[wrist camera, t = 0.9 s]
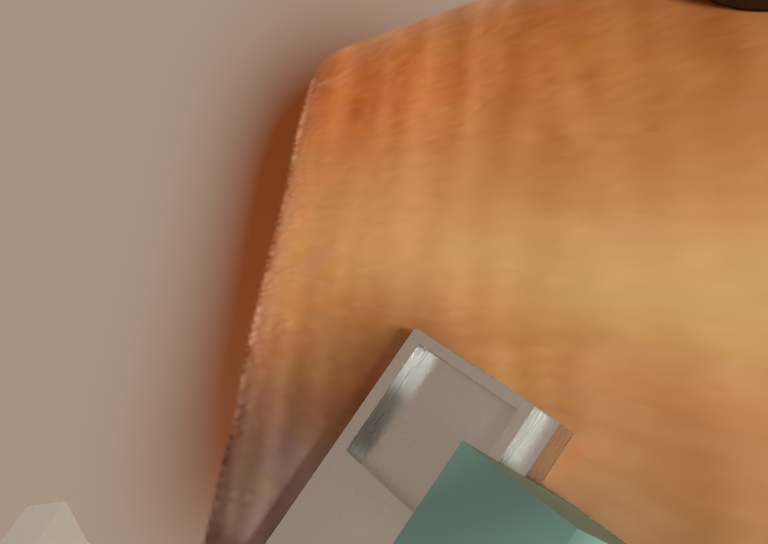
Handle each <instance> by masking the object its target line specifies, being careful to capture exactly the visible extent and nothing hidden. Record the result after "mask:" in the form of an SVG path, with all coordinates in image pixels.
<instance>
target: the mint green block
mask: <svg viewBox="0 0 768 544" xmlns="http://www.w3.org/2000/svg"><path fill="white" fill-rule="evenodd" d="M393 544H625V543H623V542H622V541H620V540H619V539H618V538H616V537H615V536H614V535H612V534H611V533H610V532H608V531H607V530H606V529H604V528H603V527H602V526H600V525H599V524H598V523H596V522H595V521H594V520H592V519H591V518H589V517H588V516H587V515H585V514H584V513H583V512H581V511H580V510H579V509H577V508H576V507H575V506H573V505H572V504H570V503H569V502H567V501H565V500H563V499H562V498H560V497H558V496H557V495H555V494H553V493H551V492H550V491H548V490H546V489H545V488H543V487H541V486H540V485H538V484H536V483H534V482H533V481H531V480H529V479H528V478H526V477H524V476H522V475H521V474H519V473H517V472H516V471H514V470H512V469H511V468H509V467H507V466H505V465H504V464H502V463H500V462H499V461H497V460H495V459H493V458H492V457H490V456H488V455H487V454H485V453H483V452H482V451H480V450H478V449H476V448H475V447H473V446H471V445H470V444H468V443H466V442H464V441H463V440H462V442H461V443H460V444H459V446H458V447H457V449H456V450H455V452H454V453H453V455H452V456H451V458H450V459H449V461H448V462H447V464H446V465H445V467H444V468H443V470H442V471H441V473H440V474H439V476H438V477H437V479H436V480H435V482H434V483H433V485H432V486H431V488H430V489H429V491H428V492H427V494H426V495H425V496H424V498H423V499H422V501H421V502H420V504H419V505H418V507H417V508H416V510H415V511H414V513H413V514H412V516H411V517H410V519H409V520H408V522H407V523H406V525H405V526H404V528H403V529H402V531H401V532H400V534H399V535H398V537H397V538H396V540H395V541H394V543H393Z"/></svg>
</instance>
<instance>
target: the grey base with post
mask: <svg viewBox="0 0 768 544" xmlns="http://www.w3.org/2000/svg"><path fill="white" fill-rule="evenodd" d="M572 435H573V434H572V433H571V432H570V431H569V430H568V429H566V428H565V427H564V426H563V425H562V424H561V423H559V422H558V421H556V420H555V419H553V418H552V417H550V416H548V415H547V414H545V413H544V412H542V411H541V410H540V409H539V408H538V407H536V406H535V405H534V404H532V403H531V402H529V401H528V400H526V399H524V398H523V397H521V396H520V395H518V394H517V393H515V392H514V391H512V390H511V389H509V388H508V387H506V386H504V385H503V384H501V383H500V382H498V381H497V380H495V379H494V378H492V377H491V376H489V375H488V374H486V373H484V372H483V371H481V370H480V369H478V368H477V367H475V366H474V365H472V364H471V363H469V362H468V361H466V360H464V359H463V358H461V357H460V356H458V355H457V354H455V353H454V352H452V351H451V350H449V349H448V348H446V347H444V346H443V345H441V344H440V343H438V342H437V341H435V340H434V339H432V338H431V337H429V336H428V335H426V334H424V333H423V332H421V331H420V330H417V329H415V328H414V330H413V331H412V333H411V334H410V335H409V337H408V338H407V340H406V341H405V343H404V344H403V346H402V347H401V348H400V350H399V351H398V353H397V354H396V356H395V357H394V359H393V360H392V361H391V363H390V364H389V366H388V367H387V369H386V370H385V372H384V373H383V374H382V376H381V377H380V379H379V380H378V382H377V383H376V385H375V386H374V387H373V389H372V390H371V392H370V393H369V395H368V396H367V398H366V399H365V400H364V402H363V403H362V405H361V406H360V408H359V409H358V410H357V412H356V413H355V415H354V416H353V418H352V419H351V421H350V422H349V423H348V425H347V426H346V428H345V429H344V431H343V432H342V434H341V435H340V436H339V438H338V439H337V441H336V442H335V444H334V445H333V447H332V448H331V449H330V451H329V452H328V454H327V455H326V457H325V458H324V460H323V461H322V462H321V464H320V465H319V467H318V468H317V470H316V471H315V473H314V474H313V475H312V477H311V478H310V480H309V481H308V483H307V484H306V486H305V487H304V488H303V490H302V491H301V493H300V494H299V496H298V497H297V499H296V500H295V501H294V503H293V504H292V506H291V507H290V509H289V510H288V512H287V513H286V514H285V516H284V517H283V519H282V520H281V522H280V523H279V525H278V526H277V527H276V529H275V530H274V532H273V533H272V535H271V536H270V538H269V539H268V540H267V542H266V543H265V544H393V543H394V541H395V540H396V538H397V537H398V535H399V534H400V532H401V531H402V529H403V528H404V526H405V525H406V523H407V522H408V520H409V519H410V517H411V516H412V514H413V513H414V511H415V510H416V508H417V507H418V505H419V504H420V502H421V501H422V499H423V498H424V496H425V495H426V494H427V492H428V491H429V489H430V488H431V486H432V485H433V483H434V482H435V480H436V479H437V477H438V476H439V474H440V473H441V471H442V470H443V468H444V467H445V465H446V464H447V462H448V461H449V459H450V458H451V456H452V455H453V453H454V452H455V450H456V449H457V447H458V446H459V444H460V443H461V442H462V440H463V441H464V442H466V443H468V444H470V445H471V446H473V447H475V448H476V449H478V450H480V451H482V452H483V453H485V454H487V455H488V456H490V457H492V458H493V459H495V460H497V461H499V462H500V463H502V464H504V465H505V466H507V467H509V468H511V469H512V470H514V471H516V472H517V473H519V474H521V475H522V476H524V477H526V478H528V479H529V480H531V481H533V482H534V483H536V484H538V485H540V484H541V482H542V481H543V479H544V478H545V476H546V475H547V473H548V471H549V470H550V468H551V467H552V465H553V464H554V462H555V461H556V459H557V458H558V456H559V455H560V453H561V452H562V450H563V449H564V447H565V446H566V444H567V443H568V441H569V439H570V438H571V436H572Z"/></svg>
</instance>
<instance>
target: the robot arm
mask: <svg viewBox="0 0 768 544" xmlns="http://www.w3.org/2000/svg"><path fill="white" fill-rule="evenodd" d="M712 1H715V2H718V3H721V4H724V5H728V6H733V7H738V8H745V9H760V10H768V0H712ZM0 544H89V543H88V541H87V539H86V537H85V536H84V534H83V532H82V530H81V528H80V526H79V524H78V523H77V521H76V519H75V517H74V515H73V514H72V512H71V510H70V508H69V506H68V504H67V503H66V501H59V502H52V503H45V504H38V505H32V506H27V507H26V508H25V510H24V511H23V512H22V514H21V515H20V516H19V518H18V519H17V520H16V522H15V523H14V524H13V526H12V527H11V528H10V530H9V531H8V532H7V533H6V535H5V536H4V538H3V539H2V540H1V542H0Z"/></svg>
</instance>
